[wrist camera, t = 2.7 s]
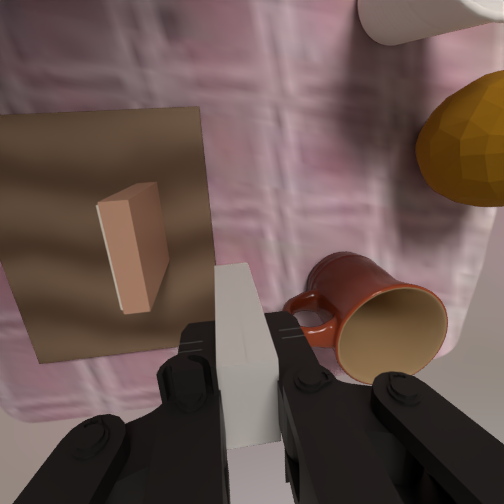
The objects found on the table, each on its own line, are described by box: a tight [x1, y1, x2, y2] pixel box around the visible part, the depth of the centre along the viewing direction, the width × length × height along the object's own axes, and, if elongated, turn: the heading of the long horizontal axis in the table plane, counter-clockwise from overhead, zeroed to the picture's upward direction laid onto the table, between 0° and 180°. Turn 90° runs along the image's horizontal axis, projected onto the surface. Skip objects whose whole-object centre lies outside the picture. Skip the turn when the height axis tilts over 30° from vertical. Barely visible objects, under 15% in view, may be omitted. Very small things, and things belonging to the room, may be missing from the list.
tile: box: [96, 182, 170, 314], centre depth 21 cm, size 7×2×9 cm, turn 3°
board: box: [0, 106, 216, 364], centre depth 26 cm, size 22×18×1 cm
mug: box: [282, 252, 448, 385], centre depth 26 cm, size 12×9×10 cm
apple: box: [415, 70, 504, 207], centre depth 22 cm, size 10×10×12 cm
